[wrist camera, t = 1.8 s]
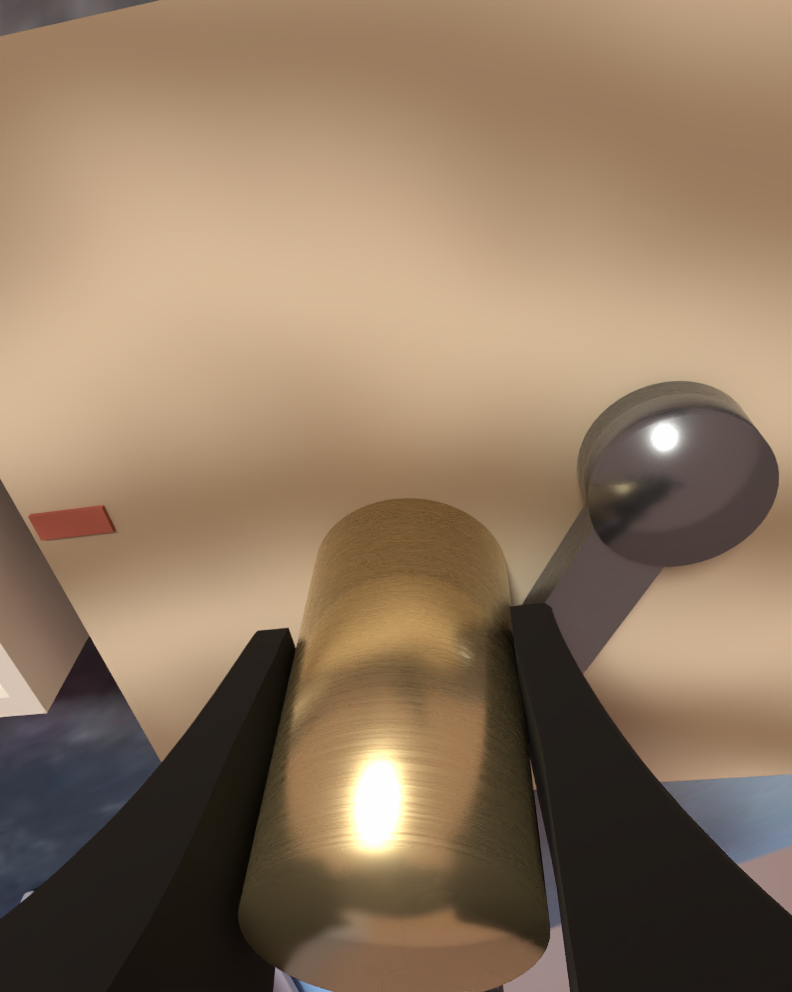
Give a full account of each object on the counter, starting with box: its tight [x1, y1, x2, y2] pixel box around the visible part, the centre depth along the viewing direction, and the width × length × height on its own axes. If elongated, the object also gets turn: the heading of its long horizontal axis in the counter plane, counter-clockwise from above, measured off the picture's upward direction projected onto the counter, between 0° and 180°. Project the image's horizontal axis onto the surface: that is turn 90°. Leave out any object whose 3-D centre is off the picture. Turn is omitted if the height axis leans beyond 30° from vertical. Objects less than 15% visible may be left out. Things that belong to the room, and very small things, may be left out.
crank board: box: [0, 0, 792, 790], centre depth 15 cm, size 18×16×1 cm
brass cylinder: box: [238, 498, 550, 992], centre depth 12 cm, size 4×4×7 cm
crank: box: [484, 381, 779, 992], centre depth 13 cm, size 12×4×6 cm, turn 160°
